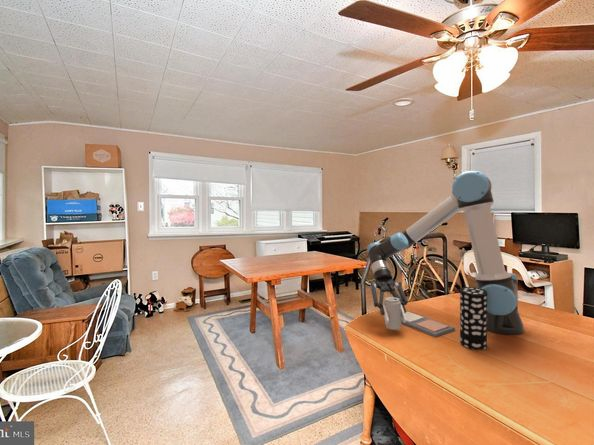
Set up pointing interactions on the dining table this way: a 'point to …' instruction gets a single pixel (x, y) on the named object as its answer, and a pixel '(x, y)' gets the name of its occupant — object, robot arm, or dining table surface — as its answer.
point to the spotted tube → (473, 318)
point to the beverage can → (393, 313)
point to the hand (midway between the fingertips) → (396, 321)
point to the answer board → (426, 325)
